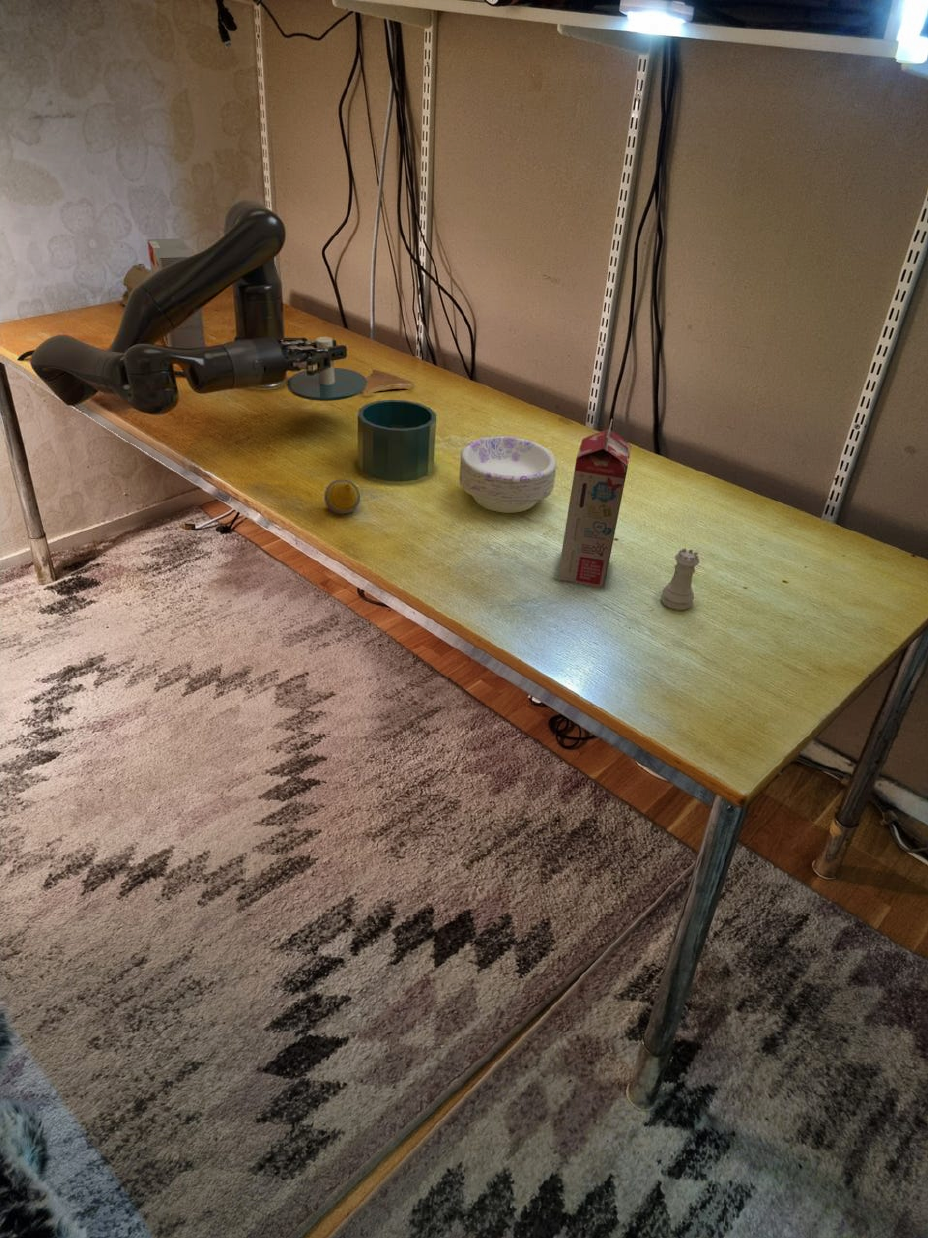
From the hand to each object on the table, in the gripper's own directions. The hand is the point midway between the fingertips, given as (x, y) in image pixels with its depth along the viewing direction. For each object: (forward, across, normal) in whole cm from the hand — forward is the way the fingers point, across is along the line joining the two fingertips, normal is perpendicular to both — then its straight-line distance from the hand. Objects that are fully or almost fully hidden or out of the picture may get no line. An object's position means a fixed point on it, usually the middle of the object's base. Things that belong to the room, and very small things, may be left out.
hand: (340, 348), depth 152 cm
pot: (-1, +19, -15) cm, 24 cm away
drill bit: (-16, +29, -15) cm, 36 cm away
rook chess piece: (+10, +73, -15) cm, 75 cm away
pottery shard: (+18, -12, -15) cm, 26 cm away
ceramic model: (-4, -84, -15) cm, 85 cm away
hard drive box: (-7, -56, -15) cm, 58 cm away
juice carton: (+4, +60, -15) cm, 62 cm away
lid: (-3, 0, -6) cm, 7 cm away
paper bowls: (+8, +38, -15) cm, 41 cm away
